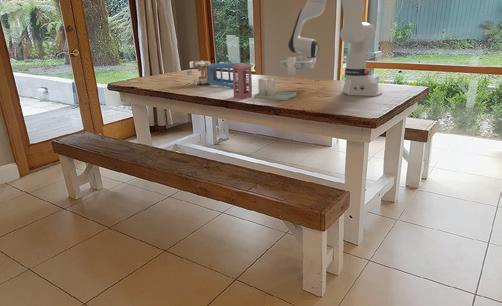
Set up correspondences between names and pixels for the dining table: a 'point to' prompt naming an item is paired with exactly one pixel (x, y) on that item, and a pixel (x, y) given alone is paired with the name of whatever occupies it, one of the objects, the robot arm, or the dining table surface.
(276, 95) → the tray
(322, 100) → the dining table surface
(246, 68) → the miniature model
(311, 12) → the robot arm
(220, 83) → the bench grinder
